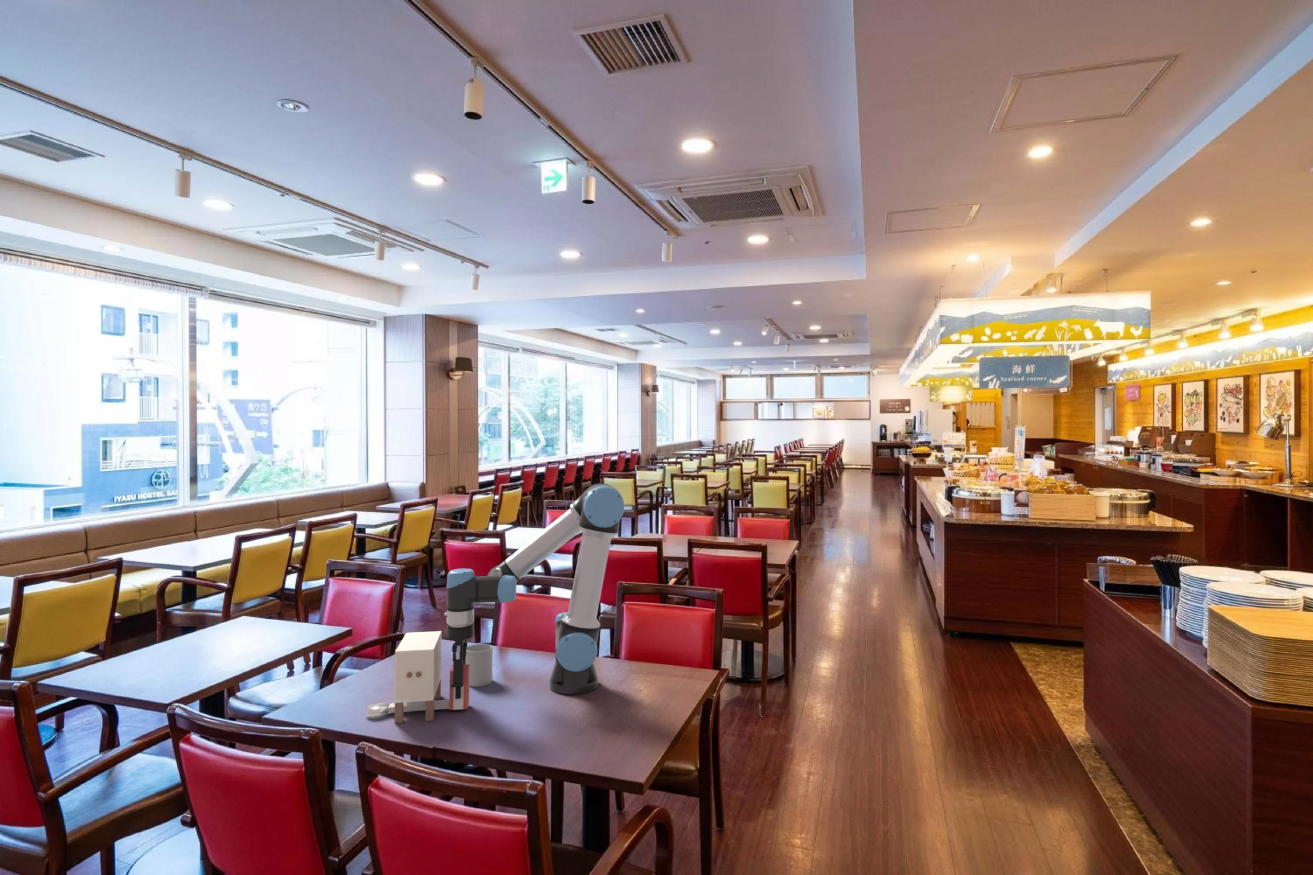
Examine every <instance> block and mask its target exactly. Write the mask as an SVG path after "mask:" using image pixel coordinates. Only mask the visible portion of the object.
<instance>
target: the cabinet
mask: <svg viewBox="0 0 1313 875" xmlns="http://www.w3.org/2000/svg"><path fill="white" fill-rule="evenodd" d="M394 656H395V657H394V703H395V712H394V724H401V723H402V724H403V722H404V719H405V718H404V716H405V714H404V703H405V702H421V701H426V710H425V712H424V713H425V714H424V716H425V722H428V721H430V722H431V721H432V722H433V721H434V718H435V710H434V701H435V700H440V699H441V698H442V630H438V631H437V630H436V631H417V632H416V631H414V632H406V633H405V634H404V636H403V638H402V640H401V641H400V642H399V644H398V646H397V648H396V649H395V652H394Z"/></svg>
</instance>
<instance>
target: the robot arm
mask: <svg viewBox="0 0 1313 875" xmlns="http://www.w3.org/2000/svg"><path fill="white" fill-rule="evenodd" d="M624 512H625V501H624V498H623V496H622V494H621V492H620V491H618V490H617V488H615V487H613V486H612V485H610V484H607V483H603V482H602V483H601V482H600V483H595V484H592V485H590V486H589V487H588V488H587V489H586V490H584V492H582V494H580V496H579V497H578V498H577V499H575V500H574V501H573V502H572V503H570V506H569V509H568V510H567V511H566V512H565V513H563V514H562V515H560V516H559V517H557V519H555V520H554V521H552V523H551V524H549V525H547V526H546V527H545V528H544V529H543V530H542V531H540V532H539V533H538V534H536V535H535V536H533V537H532V538H531V539H530V540H528V541H527V542H526V543H525V544H523V546H521V547H520V548H519V549H517V550H516V551H515V552H514V553H512V554H511V555H510V556H508V557H507V558H506V559H505V560H503V561H502V562H501V563H500V564H498V565H496V566H494V567H493V568H491V569H490V570H489V572H488V574H487V575H486V576H485V575H484V576H483V575H482V576H478V575H475V571H474V570H473V569H472V568H455V569H451V570H450V571H449V572H448V573H447V576H446V587H445V588H446V612H444V617H446V624H447V625H446V629H445V631H446V632H445V634H446V635H445V637H446V639H447V640H449V641H453V643H452V647H451V651H452V665H453V685H451V687H453V710H452V711H456V710H464V709H463V697H464V685H463V665H465V664H466V654H467V647H468V641H467V640H470V639H472V638H473V636H474V635H475V634H474V626H475V625H474V622H475V608H474V604H476V603H477V604H478V603H480V604H483V603H485V604H487V603H492V604H493V603H503V604H505V603H509V602H511V603H512V602H514V601H516V597H517V582H518V581H520V580H521V579H522V578H524V577H525V576H526V575H527V574H528V573H530V571H532V570H533V569H534V568H536V567H537V566H538V565H539V564H541V563H542V562H543V561H545V560H546V559H547V558H548V557H550V556H551V555H552V554H553V553H555V552H556V551H558V550H559V549H560V548H561V547H562V546H564V545H565V544H566V543H567V542H569V541H570V540H572V539H573V538H574V537H575V536H577V535H578V534H579V533H580V532H582V533H581V534H582V536H581V541H580V542H581V543H580V546H579V552H578V558H577V562H576V568H575V573H574V579H573V583H572V584H573V585H572V587H571V588H572V590H571V595H570V598H569V605H568V611H565V612H560V613H558V614H556V616H555V622H554V624H555V661H554V662H555V663H554V665H553V668H552V672H551V674H550V678H549V688H550V690H551V691H552V692H554V693H558V694H562V695H581V694H586V693H590V692H593V691H594V690H596V689H597V688H598V686H599V677H598V673H597V670H596V667H595V664H594V662H595V661H596V657H597V655H598V645H597V644H598V639H599V634H600V629H601V622H600V621H599V620H598V619H597V616H598V611H599V607H600V606H599V605H600V600H601V595H602V590H603V585H604V579H605V574H606V568H607V563H608V557H609V552H610V546H611V542H612V539H613V538H614V537H615V536H617V535H618V532H619V528H620V523H621V519H622V518H623V515H624Z"/></svg>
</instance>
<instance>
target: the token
mask: <svg viewBox="0 0 1313 875" xmlns="http://www.w3.org/2000/svg"><path fill="white" fill-rule="evenodd" d="M389 705H390V703H388V702H376V703H372V704H369V705H367V706H366V708H365V717H366V719H368V720H379V719H383V718H386V717H387V716H389V715H390V713H388V707H389Z"/></svg>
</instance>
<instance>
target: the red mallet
mask: <svg viewBox="0 0 1313 875" xmlns="http://www.w3.org/2000/svg"><path fill="white" fill-rule="evenodd" d="M469 670H470V664H465V665H463V685H464V697H463V709H462V710H468V709H469V705H470V704H469V703H470V686H469ZM451 685H453V664H451V667H450V670H449V697H448V698H449V699H441V700H440V699H436V700H434V711H435V710H449V711H454V710H453V687H451ZM417 711H418V712H419V711H420V712H421V711H426V701H416V702H404V712H417ZM388 713H389V714H390V713H395V702H392V703H389V707H388Z"/></svg>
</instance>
